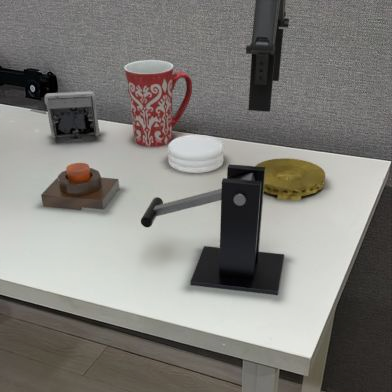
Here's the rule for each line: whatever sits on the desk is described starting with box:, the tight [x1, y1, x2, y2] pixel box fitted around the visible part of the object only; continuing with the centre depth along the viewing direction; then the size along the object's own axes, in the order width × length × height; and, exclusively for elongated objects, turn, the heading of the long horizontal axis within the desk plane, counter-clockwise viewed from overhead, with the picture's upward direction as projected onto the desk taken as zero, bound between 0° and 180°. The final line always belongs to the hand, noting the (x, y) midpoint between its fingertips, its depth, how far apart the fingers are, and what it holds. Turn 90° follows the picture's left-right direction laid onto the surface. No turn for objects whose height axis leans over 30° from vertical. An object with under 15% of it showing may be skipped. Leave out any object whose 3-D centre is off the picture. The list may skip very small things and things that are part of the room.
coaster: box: [167, 134, 225, 174], centre depth 100 cm, size 10×10×4 cm
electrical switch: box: [44, 90, 100, 143], centre depth 107 cm, size 9×5×9 cm, turn 99°
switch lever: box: [140, 173, 255, 228], centre depth 68 cm, size 14×6×2 cm, turn 78°
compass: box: [255, 157, 326, 201], centre depth 94 cm, size 12×12×2 cm
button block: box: [40, 167, 120, 211], centre depth 89 cm, size 10×8×4 cm
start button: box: [65, 162, 91, 182], centre depth 88 cm, size 4×4×2 cm
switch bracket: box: [189, 164, 285, 296], centre depth 69 cm, size 11×9×14 cm
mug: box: [123, 59, 193, 148], centre depth 106 cm, size 13×9×14 cm
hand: (264, 94), depth 76 cm, fingers open, 13 cm apart
